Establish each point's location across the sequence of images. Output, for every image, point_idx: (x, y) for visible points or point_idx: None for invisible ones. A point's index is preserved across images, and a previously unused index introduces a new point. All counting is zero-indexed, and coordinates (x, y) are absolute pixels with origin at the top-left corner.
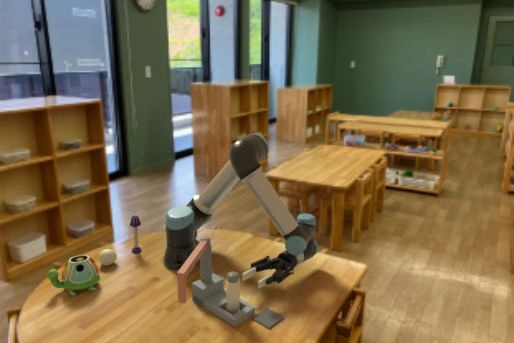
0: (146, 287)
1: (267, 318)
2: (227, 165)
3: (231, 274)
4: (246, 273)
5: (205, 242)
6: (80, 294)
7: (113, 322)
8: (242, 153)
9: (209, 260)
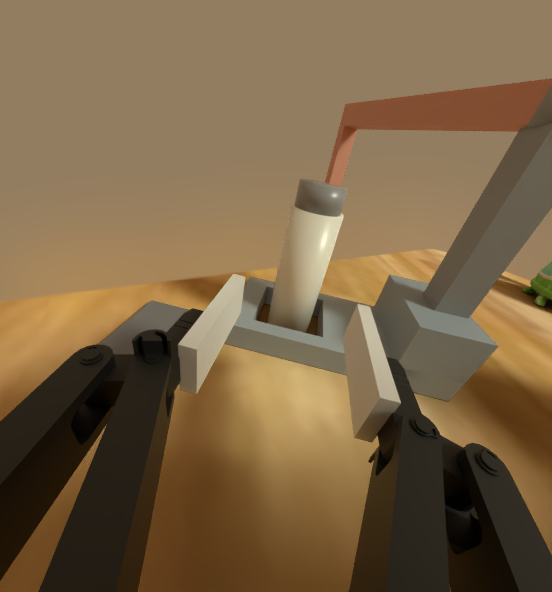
0: (527, 336)
1: (165, 327)
2: None
3: (327, 184)
4: (358, 319)
5: (534, 82)
6: (524, 294)
7: (414, 269)
8: None
9: (486, 214)
